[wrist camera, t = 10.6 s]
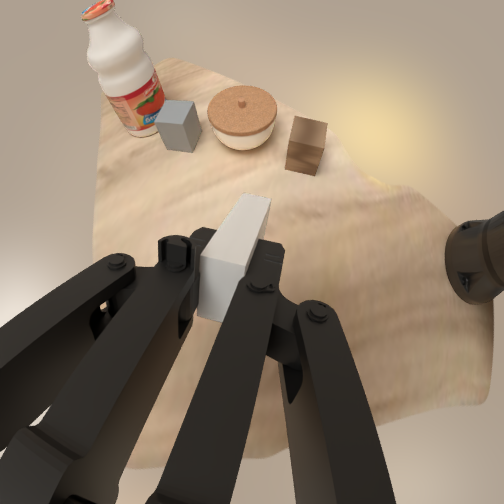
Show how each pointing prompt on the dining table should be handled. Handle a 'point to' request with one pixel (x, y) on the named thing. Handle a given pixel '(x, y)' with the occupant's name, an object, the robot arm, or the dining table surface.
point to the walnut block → (305, 145)
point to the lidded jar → (242, 116)
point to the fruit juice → (123, 69)
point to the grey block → (179, 125)
